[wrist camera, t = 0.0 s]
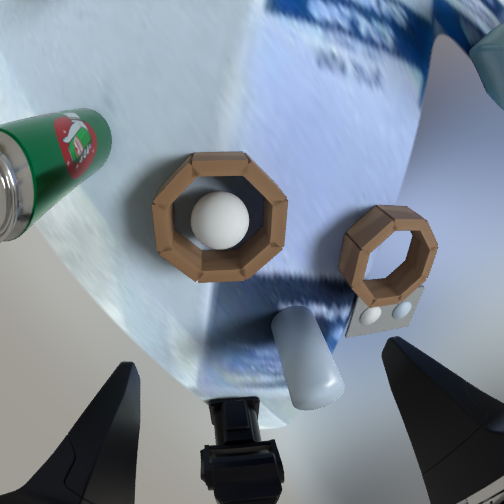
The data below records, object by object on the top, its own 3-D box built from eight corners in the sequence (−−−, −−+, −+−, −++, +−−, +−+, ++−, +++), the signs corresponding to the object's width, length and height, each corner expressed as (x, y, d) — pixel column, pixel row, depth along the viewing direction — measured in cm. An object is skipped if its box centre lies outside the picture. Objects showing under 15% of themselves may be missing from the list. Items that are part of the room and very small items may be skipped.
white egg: (244, 233, 23) (251, 259, 20) (193, 234, 23) (191, 261, 19) (245, 183, 21) (253, 201, 18) (190, 185, 21) (187, 203, 17)
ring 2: (404, 283, 29) (418, 300, 26) (333, 291, 27) (344, 311, 25) (426, 207, 24) (446, 220, 22) (349, 204, 23) (366, 218, 21)
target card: (407, 324, 32) (408, 326, 32) (344, 336, 31) (346, 338, 31) (423, 285, 29) (424, 287, 29) (357, 293, 28) (359, 296, 28)
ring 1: (272, 258, 25) (280, 278, 22) (166, 262, 23) (162, 284, 21) (280, 152, 20) (291, 160, 18) (156, 154, 19) (148, 163, 17)
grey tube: (310, 335, 30) (337, 404, 22) (269, 340, 30) (288, 413, 22) (317, 303, 28) (351, 375, 20) (272, 307, 27) (296, 385, 20)
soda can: (49, 164, 18) (-53, 233, 7) (65, 101, 16) (-50, 124, 5) (103, 182, 19) (21, 269, 9) (123, 117, 17) (31, 146, 7)
